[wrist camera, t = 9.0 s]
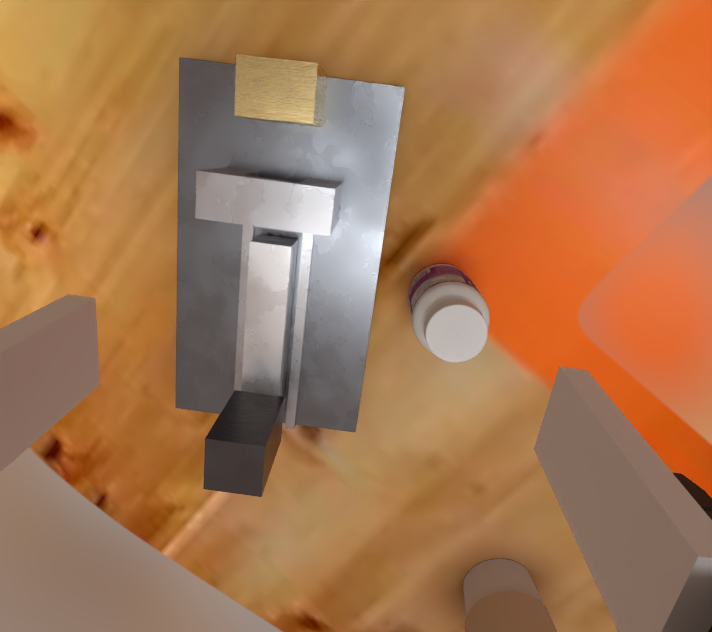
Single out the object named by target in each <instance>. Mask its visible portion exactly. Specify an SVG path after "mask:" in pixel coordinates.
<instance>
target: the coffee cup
mask: <svg viewBox="0 0 712 632" xmlns="http://www.w3.org/2000/svg"><path fill="white" fill-rule="evenodd" d="M463 592H464V602H465V612H466V620H465V630H466V632H557V630H556V628H555V626H554V624H553V621H552V619H551V617H550V615H549V613H548V610H547V608H546V607H545V605H544V604H543V603H542V600H541V598H540V596H539V594H538V591H537V589H536V587H535V585H534V582H533V580H532V578H531V576H530V574H529V572H528V571H527V569H526V568H525V567H524V566H522V565H521V564H519V563H517V562H515V561H512V560H508V559H492V560H487V561H484V562H482V563H480V564H478V565H476V566H475V567H473V568H472V569H471V570H470V571H469V572H468V574H467V575H466V577H465V579H464V583H463Z"/></svg>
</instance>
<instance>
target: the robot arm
mask: <svg viewBox="0 0 712 632" xmlns="http://www.w3.org/2000/svg"><path fill="white" fill-rule="evenodd" d="M99 385H100V378H99V360H98V341H97V323H96V304H95V298H90V297H83V296H76V295H69V294H68V295H66V296H64V297H62V298H60V299H58V300H56V301H54V302H52V303H50V304H48V305H46V306H45V307H43V308H41V309H39V310H37V311H35V312H33V313H31V314H29V315H27V316H25V317H23V318H21V319H19V320H17V321H15V322H13V323H11V324H9V325H7V326H5V327H3V328H1V329H0V472H1V471H2V470H3V469H4V468H6V467H7V466H8V465H9V464H10V463H11V462H13V461H14V460H15V459H16V458H17V457H18V456H19V455H20V454H22V453H23V452H24V451H25V450H26V449H27V448H28V447H30V446H31V445H32V444H33V443H34V442H35V441H36V440H38V439H39V438H40V437H41V436H42V435H43V434H44V433H45V432H47V431H48V430H49V429H50V428H51V427H52V426H53V425H55V424H56V423H57V422H58V421H59V420H60V419H61V418H62V417H64V416H65V415H66V414H67V413H68V412H69V411H70V410H72V409H73V408H74V407H75V406H76V405H77V404H78V403H80V402H81V401H82V400H83V399H84V398H85V397H86V396H87V395H89V394H90V393H91V392H92V391H93V390H94V389H95V388H97V387H98V386H99ZM534 450H535V452H536V454H537V456H538V459H539V461H540V463H541V465H542V467H543V469H544V472H545V474H546V476H547V478H548V480H549V482H550V485H551V487H552V489H553V491H554V493H555V495H556V498H557V500H558V502H559V504H560V506H561V508H562V511H563V513H564V515H565V517H566V519H567V521H568V524H569V526H570V528H571V530H572V532H573V534H574V537H575V539H576V541H577V543H578V545H579V547H580V550H581V552H582V554H583V556H584V558H585V561H586V563H587V565H588V567H589V569H590V571H591V574H592V576H593V578H594V580H595V582H596V584H597V587H598V589H599V591H600V593H601V595H602V597H603V600H604V602H605V604H606V606H607V608H608V610H609V613H610V615H611V617H612V619H613V621H614V623H615V626H616V628H617V630H618V632H712V498H711V497H710V496H709V495H708V494H707V493H706V492H705V491H704V490H703V489H701V488H700V487H699V486H697V485H696V484H695V483H693V482H692V481H691V480H689V479H688V478H687V477H685V476H684V475H682V474H679V473H672V472H671V471H670V469H669V468H668V467H667V466H666V465H665V463H664V462H663V461H662V460H661V459H660V457H659V456H658V455H657V454H656V453H655V451H654V450H653V449H652V448H651V447H650V445H649V444H648V443H647V442H646V441H645V439H644V438H643V437H642V436H641V435H640V433H639V432H638V431H637V430H636V429H635V427H634V426H633V425H632V424H631V423H630V421H629V420H628V419H627V418H626V417H625V415H624V414H623V413H622V412H621V411H620V409H619V408H618V407H617V406H616V405H615V403H614V402H613V401H612V400H611V399H610V397H609V396H608V395H607V394H606V393H605V392H604V390H603V389H602V388H601V387H600V386H599V384H598V383H597V382H596V381H595V380H594V378H593V377H592V376H591V375H590V374H589V372H588V371H587V370H581V369H574V368H567V367H559V370H558V373H557V376H556V380H555V383H554V386H553V389H552V392H551V396H550V399H549V402H548V405H547V409H546V412H545V415H544V418H543V422H542V425H541V428H540V431H539V435H538V438H537V441H536V444H535V448H534Z"/></svg>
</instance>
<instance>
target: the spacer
mask: <svg viewBox="0 0 712 632" xmlns="http://www.w3.org/2000/svg"><path fill="white" fill-rule="evenodd" d="M325 85H326V73H325V72H324V71H323V69H322V68H321V67H320V65H319V64H318V63H314V62H305V61H296V60H287V59H277V58H268V57H259V56H250V55H241V54H236V74H235V113H234V116H239V117H243V118H247V119H252V120H259V121H267V122H276V123H285V124H294V125H303V126H312V127H321V128H322V123H323V110H324V98H325Z"/></svg>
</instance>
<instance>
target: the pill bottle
mask: <svg viewBox="0 0 712 632" xmlns="http://www.w3.org/2000/svg"><path fill="white" fill-rule="evenodd" d="M408 303H409V307H410V313H411V318H412V325H413V330H414V333H415V335H416V337H417V339H418V340H419V342H420V343H421V344H422V345H423V346H424V347H425V348H426V349H427V350H429V351H431V352H432V353H433V354H434V355H435V356H437V357H438V358H440V359H442V360H444V361H447V362H463V361H467V360H469V359H471V358H473V357H474V356H476V355H477V354H478V353H479V352H480V351H481V350H482V348H483V347H484V345H485V343H486V340H487V335H488V327H489V321H490V316H489V310H488V306H487V304H486V301H485V299H484V298H483V296H482V295H481V294H480V292H479V291H478V289H477V288H476V287H475V285H474V284H473V282H472V281H471V280H470V278H469V277H468V276H467V275H466V274H465V273H464V272H463V271H462V270H461V269H459V268H457V267H455V266H452V265H448V264H435V265H431V266H429V267H427V268H425V269H423V270H421V271H420V272H419V273H418V274H417V275H416V276H415V278H414V279H413V281H412V282H411V285H410V287H409V291H408Z"/></svg>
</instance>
